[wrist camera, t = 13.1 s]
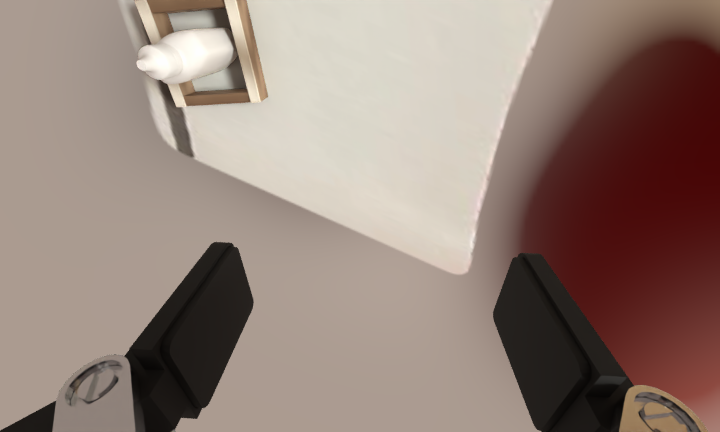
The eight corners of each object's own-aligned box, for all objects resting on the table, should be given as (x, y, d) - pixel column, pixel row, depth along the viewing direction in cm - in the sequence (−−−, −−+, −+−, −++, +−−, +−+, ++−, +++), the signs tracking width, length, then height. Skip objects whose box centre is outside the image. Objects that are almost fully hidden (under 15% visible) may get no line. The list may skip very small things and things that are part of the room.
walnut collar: (153, 2, 29) (134, 0, 27) (244, -7, 29) (232, -9, 26) (190, 101, 35) (176, 107, 32) (268, 96, 34) (259, 102, 31)
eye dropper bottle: (185, 26, 30) (89, 29, 20) (238, 27, 30) (168, 31, 20) (197, 72, 33) (117, 95, 23) (246, 74, 33) (187, 98, 23)
